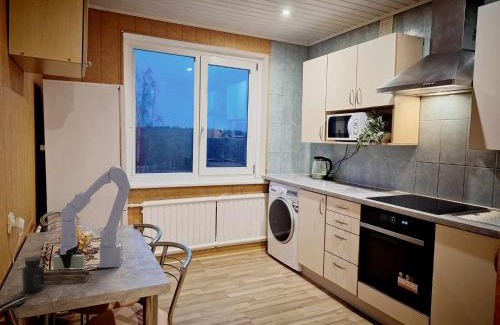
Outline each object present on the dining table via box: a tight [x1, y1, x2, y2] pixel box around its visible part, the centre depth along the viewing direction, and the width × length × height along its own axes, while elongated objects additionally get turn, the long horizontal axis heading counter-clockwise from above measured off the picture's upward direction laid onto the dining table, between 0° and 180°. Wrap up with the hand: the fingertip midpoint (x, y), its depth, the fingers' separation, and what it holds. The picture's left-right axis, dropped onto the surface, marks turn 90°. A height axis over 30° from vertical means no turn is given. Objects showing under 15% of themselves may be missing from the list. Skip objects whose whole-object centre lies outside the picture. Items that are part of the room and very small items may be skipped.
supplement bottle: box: [21, 256, 45, 295], centre depth 127 cm, size 7×7×12 cm
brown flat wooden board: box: [44, 269, 93, 285], centre depth 137 cm, size 18×8×2 cm, turn 99°
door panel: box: [52, 254, 86, 269], centre depth 147 cm, size 12×2×6 cm, turn 99°
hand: (69, 265), depth 148 cm, fingers open, 5 cm apart
